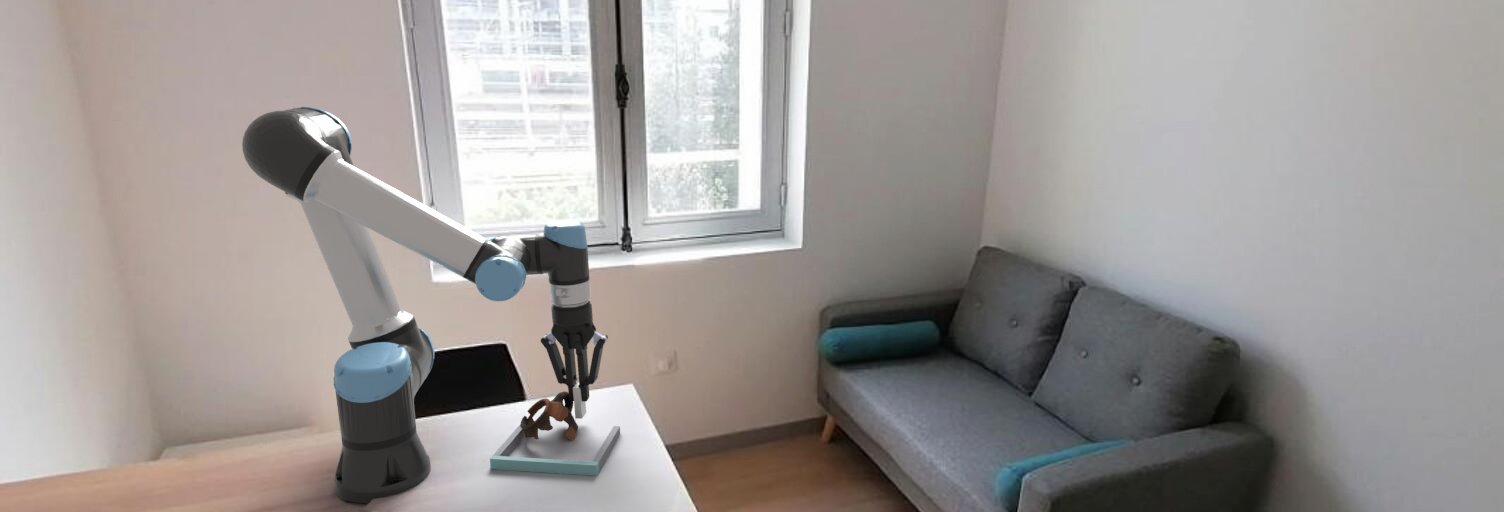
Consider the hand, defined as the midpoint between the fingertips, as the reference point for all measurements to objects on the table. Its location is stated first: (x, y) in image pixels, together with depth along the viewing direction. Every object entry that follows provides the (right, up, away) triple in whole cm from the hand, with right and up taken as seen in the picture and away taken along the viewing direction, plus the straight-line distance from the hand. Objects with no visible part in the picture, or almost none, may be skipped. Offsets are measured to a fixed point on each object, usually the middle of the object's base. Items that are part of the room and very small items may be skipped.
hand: (580, 415), depth 155 cm
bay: (-2, -5, -8) cm, 10 cm away
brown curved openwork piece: (-3, -3, -1) cm, 4 cm away
